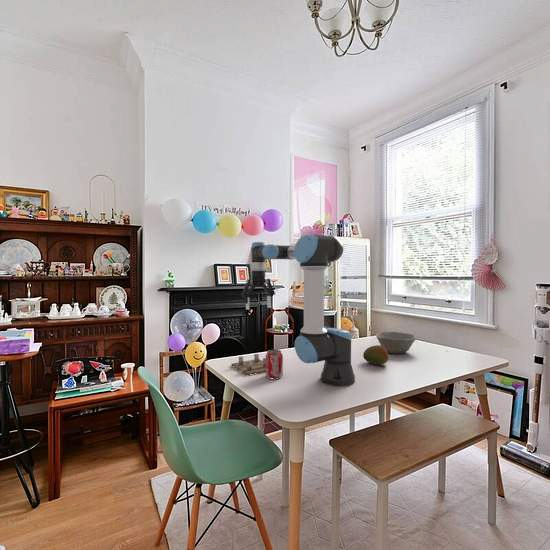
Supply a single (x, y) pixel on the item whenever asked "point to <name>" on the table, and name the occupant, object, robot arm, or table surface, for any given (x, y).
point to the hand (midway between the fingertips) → (258, 308)
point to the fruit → (376, 355)
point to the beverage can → (274, 364)
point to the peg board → (254, 367)
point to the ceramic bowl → (396, 341)
